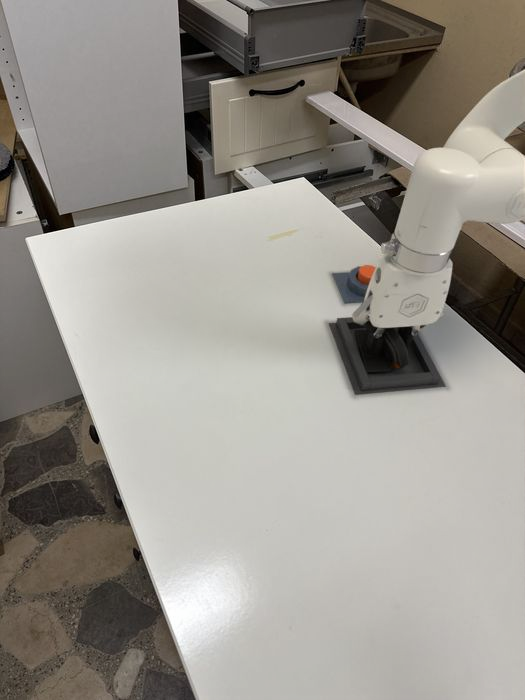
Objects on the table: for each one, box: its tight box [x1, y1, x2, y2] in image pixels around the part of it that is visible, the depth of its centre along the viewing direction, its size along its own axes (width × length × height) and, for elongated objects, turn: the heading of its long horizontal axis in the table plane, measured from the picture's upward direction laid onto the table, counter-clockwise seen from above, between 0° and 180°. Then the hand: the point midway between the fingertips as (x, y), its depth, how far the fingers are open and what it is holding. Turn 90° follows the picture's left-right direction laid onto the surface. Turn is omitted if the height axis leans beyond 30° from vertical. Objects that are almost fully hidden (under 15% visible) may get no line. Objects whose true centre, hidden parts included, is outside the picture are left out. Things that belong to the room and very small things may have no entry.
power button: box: [357, 264, 376, 285], centre depth 90 cm, size 4×4×2 cm
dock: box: [328, 316, 447, 396], centre depth 80 cm, size 14×15×2 cm
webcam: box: [354, 327, 409, 373], centre depth 78 cm, size 9×6×6 cm
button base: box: [331, 265, 369, 304], centre depth 91 cm, size 10×8×3 cm
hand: (386, 348), depth 80 cm, fingers closed on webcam, 3 cm apart
